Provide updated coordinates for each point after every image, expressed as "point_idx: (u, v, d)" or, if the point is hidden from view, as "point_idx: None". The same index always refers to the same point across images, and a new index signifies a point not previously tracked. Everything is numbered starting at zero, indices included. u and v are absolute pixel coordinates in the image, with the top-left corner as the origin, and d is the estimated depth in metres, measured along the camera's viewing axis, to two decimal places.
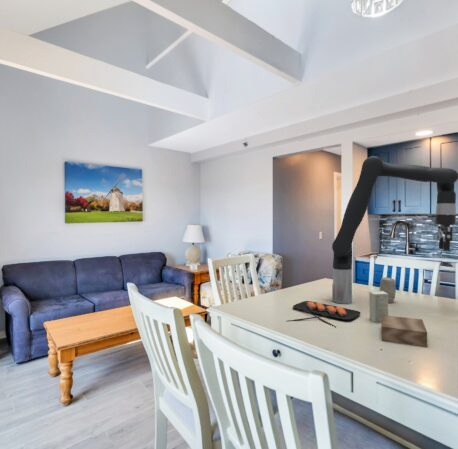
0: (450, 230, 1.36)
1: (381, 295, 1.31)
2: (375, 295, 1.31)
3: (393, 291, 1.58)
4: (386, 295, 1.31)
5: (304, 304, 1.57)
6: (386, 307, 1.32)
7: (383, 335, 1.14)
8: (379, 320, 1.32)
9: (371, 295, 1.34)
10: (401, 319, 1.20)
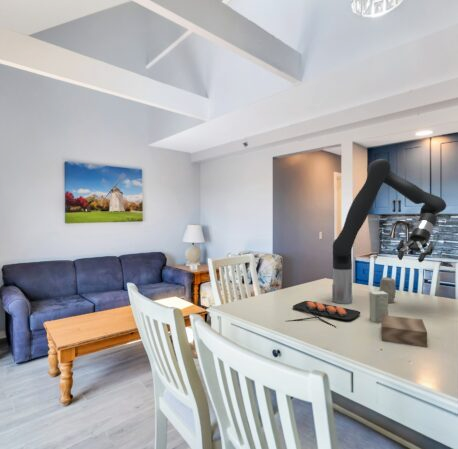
0: (433, 246, 1.37)
1: (381, 295, 1.31)
2: (375, 295, 1.31)
3: (393, 291, 1.58)
4: (386, 295, 1.31)
5: (304, 304, 1.57)
6: (386, 307, 1.32)
7: (383, 335, 1.14)
8: (379, 320, 1.32)
9: (371, 295, 1.34)
10: (401, 319, 1.20)
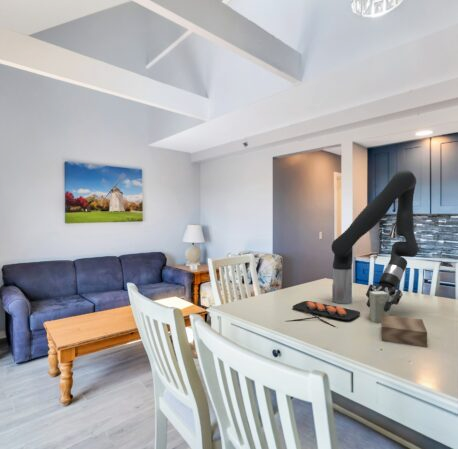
0: (401, 295, 1.31)
1: (381, 295, 1.31)
2: (375, 295, 1.31)
3: None
4: (386, 295, 1.31)
5: (304, 304, 1.57)
6: None
7: (383, 335, 1.14)
8: (379, 320, 1.32)
9: (371, 295, 1.34)
10: (401, 319, 1.20)
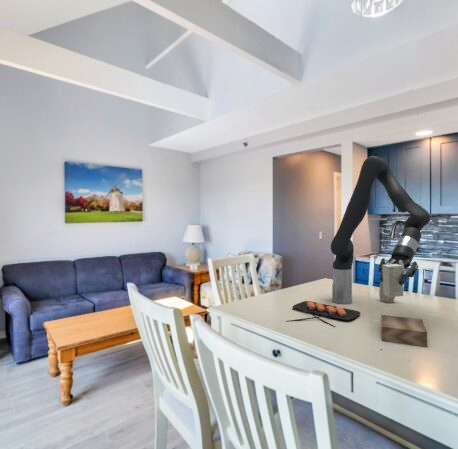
0: (416, 267, 1.21)
1: (395, 267, 1.22)
2: (389, 268, 1.22)
3: None
4: (401, 267, 1.22)
5: (304, 304, 1.57)
6: None
7: (383, 335, 1.14)
8: (394, 295, 1.22)
9: (384, 268, 1.24)
10: (401, 319, 1.20)
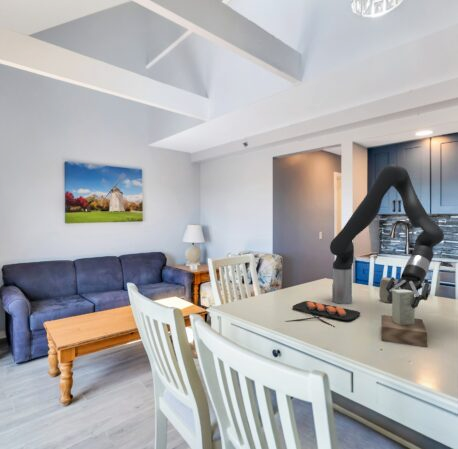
0: (429, 289, 1.14)
1: (406, 294, 1.14)
2: (400, 294, 1.14)
3: None
4: (412, 294, 1.14)
5: (304, 304, 1.57)
6: None
7: (383, 335, 1.14)
8: (404, 322, 1.15)
9: (394, 294, 1.16)
10: None
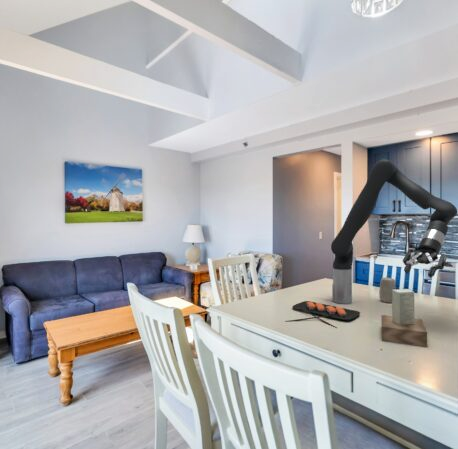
0: (445, 259, 1.21)
1: (406, 294, 1.14)
2: (400, 294, 1.14)
3: None
4: (412, 294, 1.14)
5: (304, 304, 1.57)
6: (412, 307, 1.15)
7: (383, 335, 1.14)
8: (404, 322, 1.15)
9: (394, 294, 1.16)
10: None
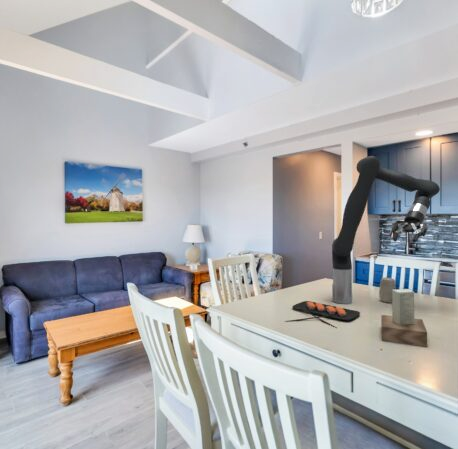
0: (427, 227, 1.41)
1: (406, 294, 1.14)
2: (400, 294, 1.14)
3: None
4: (412, 294, 1.14)
5: (304, 304, 1.57)
6: (412, 307, 1.15)
7: (383, 335, 1.14)
8: (404, 322, 1.15)
9: (394, 294, 1.16)
10: None
